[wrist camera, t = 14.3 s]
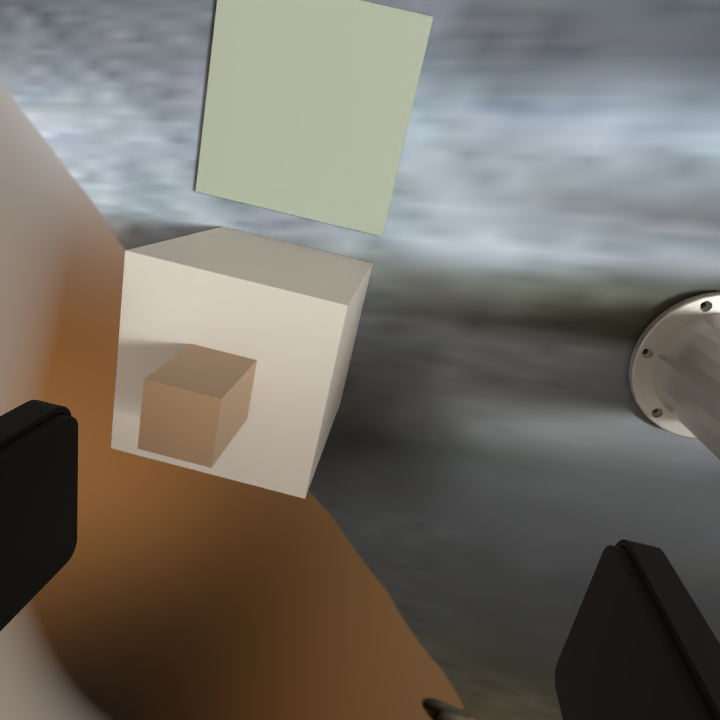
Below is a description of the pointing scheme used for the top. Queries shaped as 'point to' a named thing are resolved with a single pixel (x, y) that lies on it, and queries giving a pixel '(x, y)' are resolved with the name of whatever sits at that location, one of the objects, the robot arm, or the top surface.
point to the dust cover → (235, 354)
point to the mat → (310, 106)
